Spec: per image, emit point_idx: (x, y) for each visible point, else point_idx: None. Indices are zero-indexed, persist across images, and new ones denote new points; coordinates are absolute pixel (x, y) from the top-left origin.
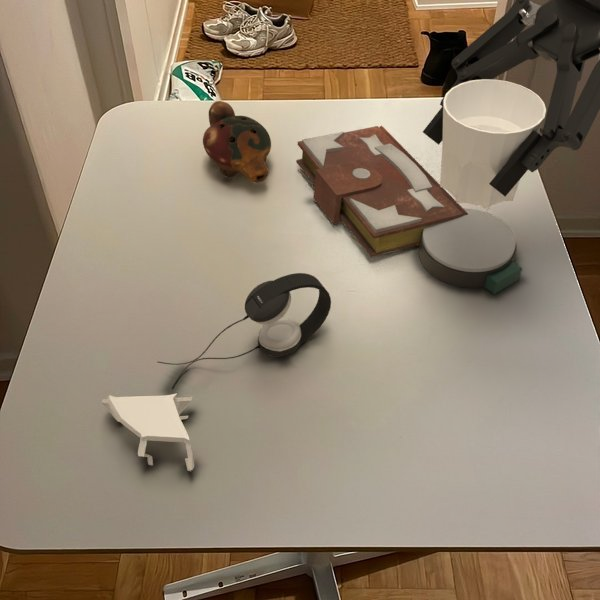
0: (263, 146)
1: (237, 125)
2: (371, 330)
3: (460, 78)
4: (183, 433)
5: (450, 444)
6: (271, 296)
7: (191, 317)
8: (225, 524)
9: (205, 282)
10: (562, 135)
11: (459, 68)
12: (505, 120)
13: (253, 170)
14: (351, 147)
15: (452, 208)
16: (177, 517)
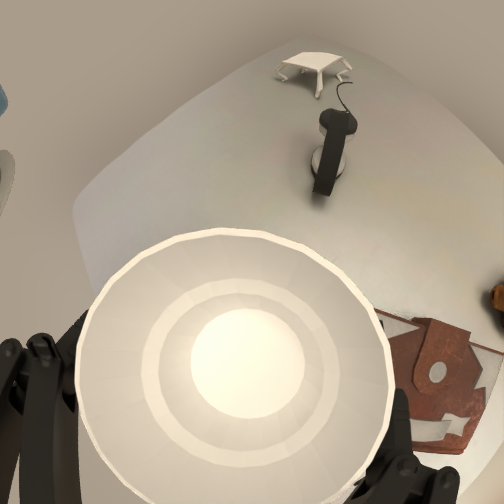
0: None
1: None
2: (283, 234)
3: (405, 455)
4: (288, 61)
5: (160, 191)
6: (333, 113)
7: (394, 149)
8: (240, 76)
9: (420, 180)
10: (17, 348)
11: (429, 478)
12: (249, 465)
13: (500, 288)
14: (468, 399)
15: None
16: (262, 66)
